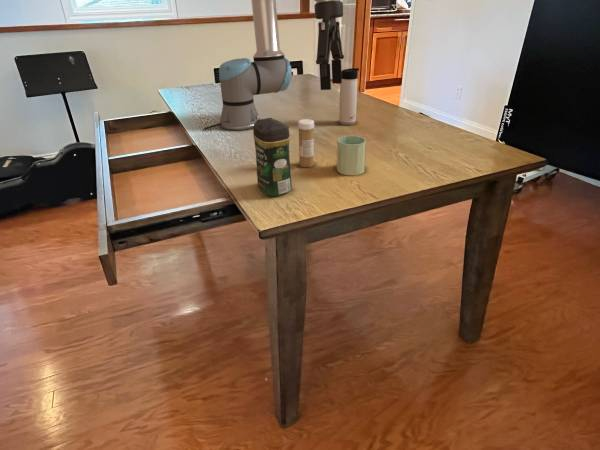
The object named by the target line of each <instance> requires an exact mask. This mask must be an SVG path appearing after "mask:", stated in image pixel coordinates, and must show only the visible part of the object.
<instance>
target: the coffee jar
mask: <svg viewBox="0 0 600 450" xmlns="http://www.w3.org/2000/svg"><path fill="white" fill-rule="evenodd" d="M252 129H253V141H254V142H253V143H254V148H255V162H256V177H257V179H256V180H257V187H258V188H259V190H260V191H261V192H262V193H263V194H264V195H266V196H268V197H281V196H284V195H286V194H288V193H290V192H291V191H292V188H293V187H292V186H293V185H292V174H291V159H290V140H291V135H290V129H289V126H288V125H286V124H285V123H283V122H281V121H279V120H277V119H275V118H272V117H267V118H260V120H257V122H256V123H255V124H254V126H253V128H252Z"/></svg>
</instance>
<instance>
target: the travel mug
mask: <svg viewBox="0 0 600 450" xmlns="http://www.w3.org/2000/svg"><path fill="white" fill-rule="evenodd" d="M341 71H342V83H339V115H338V116H339V121H338V123H339V124H340V125H341V126H353V125H355V124H356V123H357V103H358V102H357V101H358V100H357V99H358V84H359V83H358V81H359V80H358V79H359V71H360V67H353V68H352V67H351V68H345V69H341Z"/></svg>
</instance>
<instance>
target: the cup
mask: <svg viewBox="0 0 600 450" xmlns="http://www.w3.org/2000/svg"><path fill="white" fill-rule="evenodd" d="M366 154H367V139H366V137H363V136H360V135H353V134H352V135H350V134H349V135H343V136H340V137H338V138H337V140H336V171H337V172H338V173H339V174H341V175H344V176H357V175H361V174H363V173H364V172H365V168H366Z"/></svg>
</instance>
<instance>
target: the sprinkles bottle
mask: <svg viewBox="0 0 600 450" xmlns="http://www.w3.org/2000/svg"><path fill="white" fill-rule="evenodd" d="M297 128H298V156H299V158H298V159H299V161H298V162H299V163H298V165H299V167H301V168H311V167H314V165H315V163H314V155H315V151H314V150H315V147H314V146H315V140H314V139H315V137H314V136H315V135H314V129H315V121H314V120H313V119H310V118H303V119H299V120H298V122H297Z"/></svg>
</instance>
